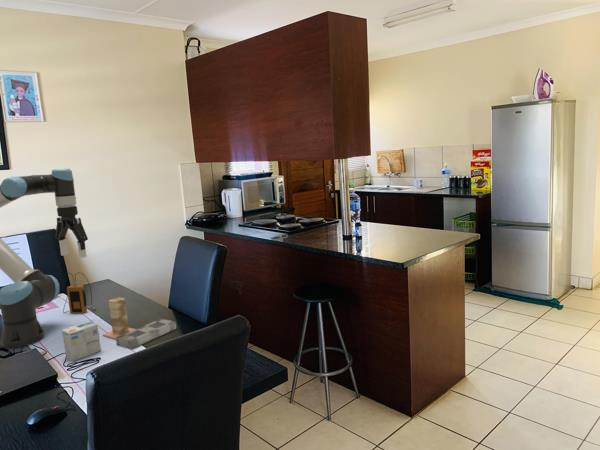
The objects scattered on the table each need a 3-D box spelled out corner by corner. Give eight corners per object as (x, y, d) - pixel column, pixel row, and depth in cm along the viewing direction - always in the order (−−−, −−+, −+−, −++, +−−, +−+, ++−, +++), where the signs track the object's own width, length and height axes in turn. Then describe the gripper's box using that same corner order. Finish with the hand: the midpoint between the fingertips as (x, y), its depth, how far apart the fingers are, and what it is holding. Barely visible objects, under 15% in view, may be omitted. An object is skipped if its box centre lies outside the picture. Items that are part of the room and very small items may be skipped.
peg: (119, 335, 184) (115, 302, 182) (112, 333, 187) (108, 300, 184) (129, 331, 188) (125, 298, 186) (122, 329, 190) (118, 297, 188)
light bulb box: (93, 346, 176) (89, 320, 174) (101, 350, 171) (98, 323, 170) (64, 357, 168) (60, 329, 166) (73, 361, 163) (69, 333, 162)
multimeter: (102, 306, 225) (97, 267, 222) (91, 313, 215) (86, 272, 212) (74, 306, 227) (69, 267, 223) (62, 314, 217) (56, 273, 214)
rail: (131, 349, 171) (130, 341, 171) (116, 344, 176) (115, 337, 176) (176, 328, 189) (175, 321, 189) (161, 325, 194) (161, 318, 194)
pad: (118, 340, 180) (117, 338, 180) (102, 336, 186) (102, 334, 186) (139, 331, 189) (138, 330, 189) (123, 327, 194) (123, 326, 194)
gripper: (92, 205, 185) (99, 256, 188) (59, 204, 198) (65, 252, 202) (75, 207, 179) (82, 260, 182) (41, 206, 192) (48, 255, 196)
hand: (73, 256), depth 192 cm, fingers open, 13 cm apart
